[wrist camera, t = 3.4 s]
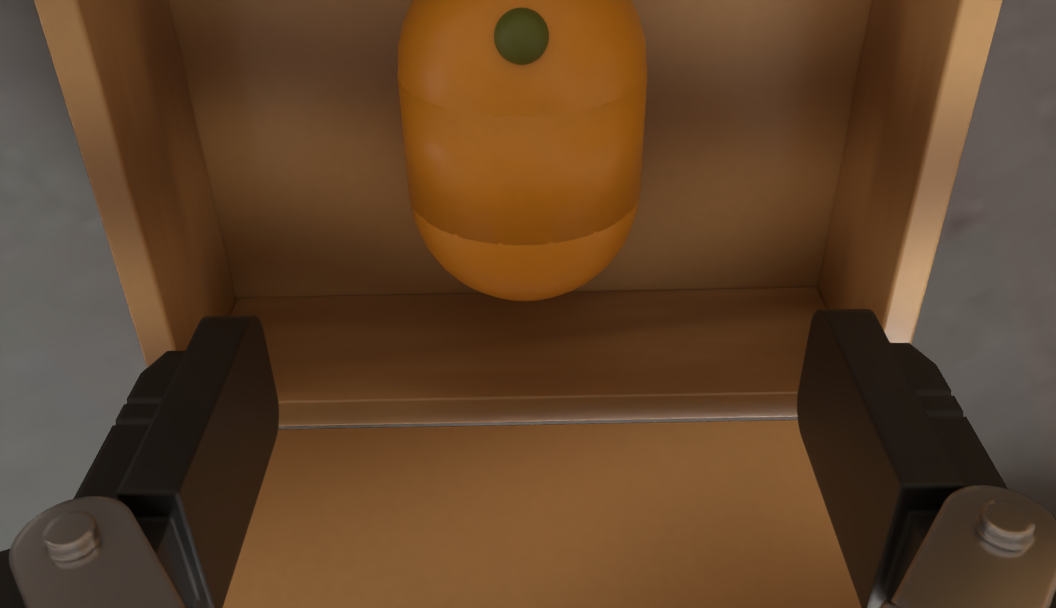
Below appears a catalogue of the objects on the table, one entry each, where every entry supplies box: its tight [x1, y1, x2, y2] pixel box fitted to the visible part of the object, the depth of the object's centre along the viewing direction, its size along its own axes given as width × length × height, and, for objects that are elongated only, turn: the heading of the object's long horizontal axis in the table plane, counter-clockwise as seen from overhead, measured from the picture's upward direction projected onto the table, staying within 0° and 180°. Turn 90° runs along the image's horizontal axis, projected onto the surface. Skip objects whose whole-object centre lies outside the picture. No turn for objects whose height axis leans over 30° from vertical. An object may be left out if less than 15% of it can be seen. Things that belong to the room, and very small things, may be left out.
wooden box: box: [34, 0, 1002, 426], centre depth 21 cm, size 14×18×5 cm
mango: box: [397, 0, 647, 301], centre depth 21 cm, size 8×5×5 cm, turn 1°
